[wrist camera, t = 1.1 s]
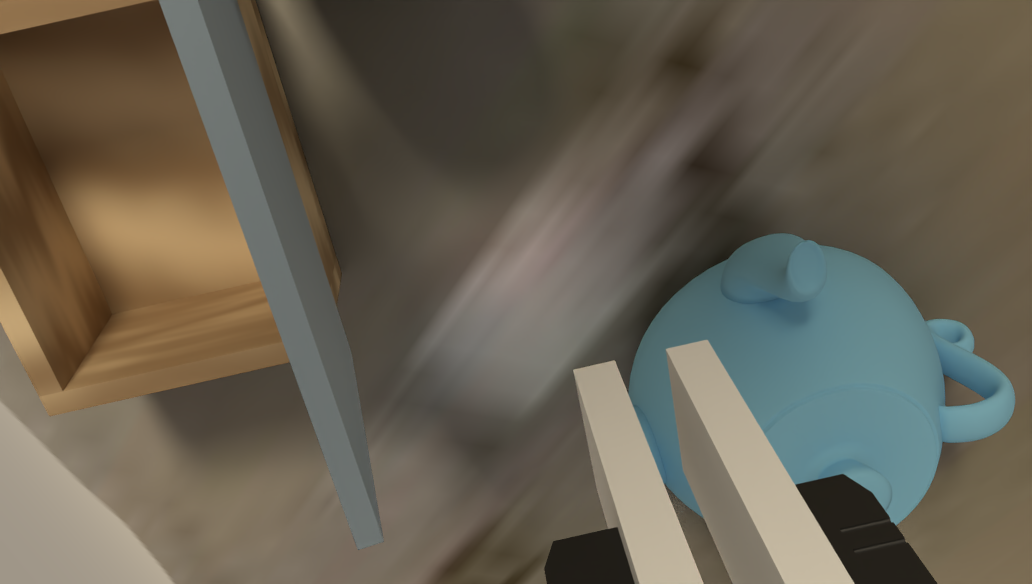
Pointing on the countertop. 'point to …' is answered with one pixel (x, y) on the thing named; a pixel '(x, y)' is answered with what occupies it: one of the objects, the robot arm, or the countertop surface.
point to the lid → (278, 240)
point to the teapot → (822, 369)
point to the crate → (125, 209)
